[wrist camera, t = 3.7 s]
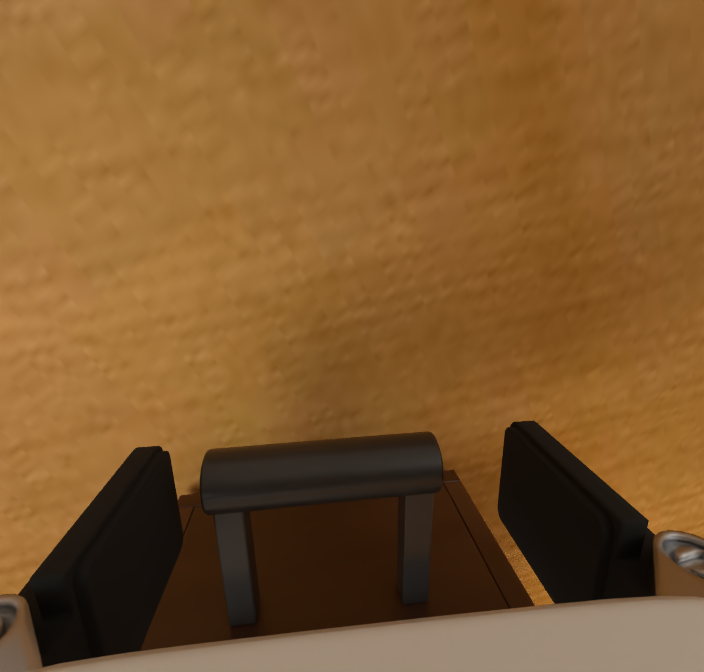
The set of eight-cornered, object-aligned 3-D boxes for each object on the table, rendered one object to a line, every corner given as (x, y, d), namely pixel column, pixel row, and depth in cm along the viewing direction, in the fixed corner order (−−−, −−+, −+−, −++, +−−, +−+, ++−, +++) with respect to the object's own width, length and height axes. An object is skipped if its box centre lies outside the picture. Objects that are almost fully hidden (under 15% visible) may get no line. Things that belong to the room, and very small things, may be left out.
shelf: (158, 375, 15) (10, 536, 7) (462, 357, 16) (598, 477, 9) (223, 740, 21) (179, 1027, 14) (437, 706, 22) (504, 950, 15)
